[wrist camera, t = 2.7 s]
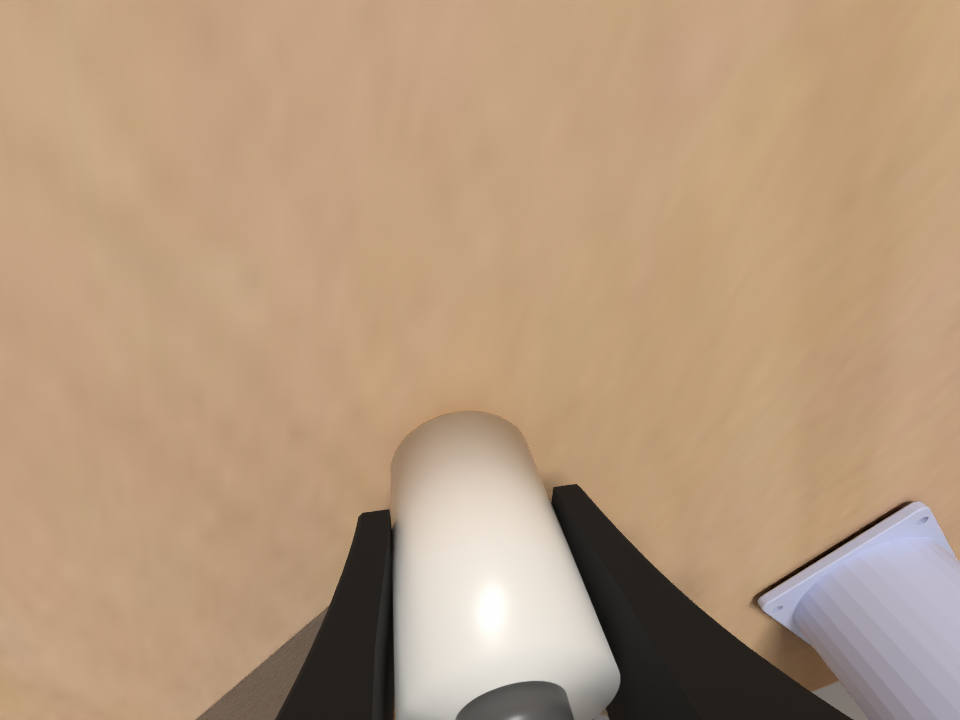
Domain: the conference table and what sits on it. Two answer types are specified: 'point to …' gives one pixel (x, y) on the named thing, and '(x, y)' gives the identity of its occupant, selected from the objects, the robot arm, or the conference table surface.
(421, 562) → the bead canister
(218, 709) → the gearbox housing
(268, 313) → the conference table surface
